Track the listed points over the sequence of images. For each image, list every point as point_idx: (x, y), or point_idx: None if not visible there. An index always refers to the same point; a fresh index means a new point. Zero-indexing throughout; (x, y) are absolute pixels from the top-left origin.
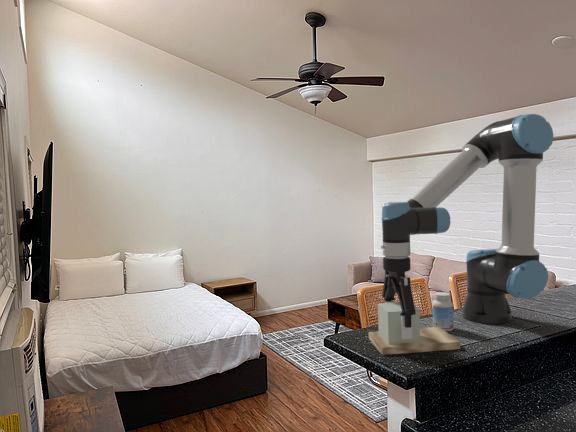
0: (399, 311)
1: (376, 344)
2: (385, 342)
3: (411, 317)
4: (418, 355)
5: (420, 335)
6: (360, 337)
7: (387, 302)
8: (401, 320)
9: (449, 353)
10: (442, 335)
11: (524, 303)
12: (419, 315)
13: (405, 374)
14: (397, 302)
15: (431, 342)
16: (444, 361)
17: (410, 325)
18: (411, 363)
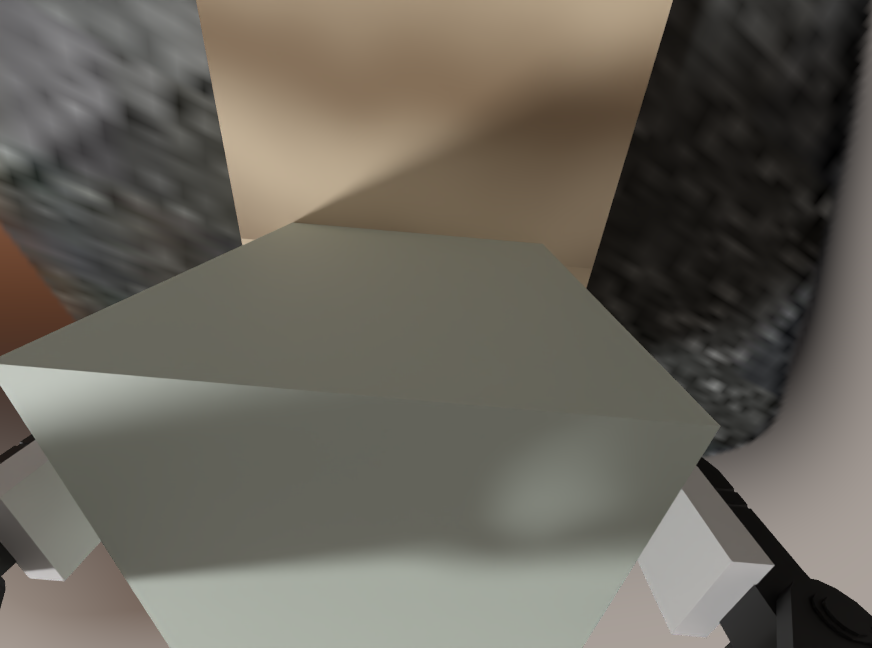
0: (586, 635)
1: None
2: None
3: (735, 525)
4: (611, 291)
5: (409, 168)
6: None
7: (56, 561)
8: (643, 555)
9: (701, 52)
10: None
11: None
12: (654, 361)
13: (757, 436)
14: (96, 518)
15: (592, 161)
16: (782, 183)
17: (717, 481)
18: (679, 369)
